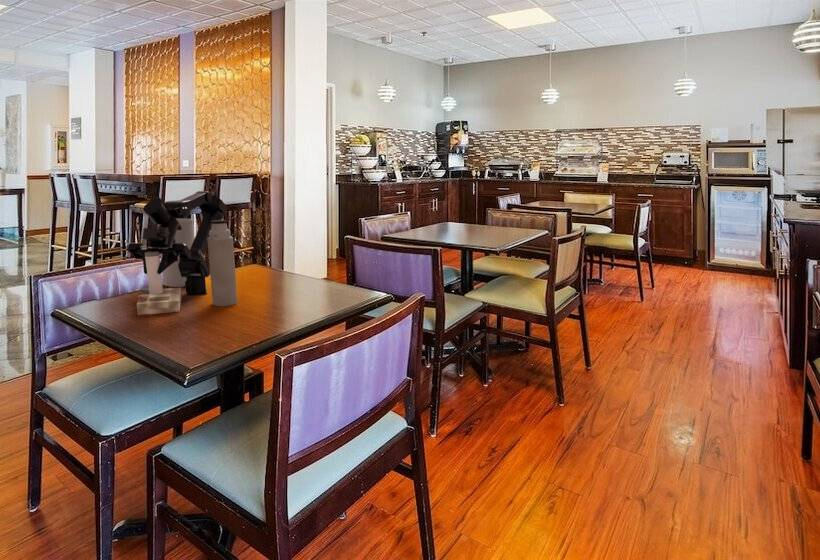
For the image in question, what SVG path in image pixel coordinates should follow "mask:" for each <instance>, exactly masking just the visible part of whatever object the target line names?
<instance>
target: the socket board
mask: <svg viewBox="0 0 820 560" xmlns="http://www.w3.org/2000/svg"><path fill="white" fill-rule="evenodd" d="M182 297H183V296H182V287H168V288H163V293H160V294H150V293H149V287H145V288H141V294H139V295H138V296H137V299H138V301H137V303H136V311H137V316H142V315H144V316H145V315H153V314H154V315H155V314H164V313H165V314H167V313H178V312H180V311H181V305H182V299H183V298H182Z"/></svg>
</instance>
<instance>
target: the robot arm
mask: <svg viewBox="0 0 820 560" xmlns="http://www.w3.org/2000/svg"><path fill="white" fill-rule="evenodd" d="M196 208H198V209H199V210H200V213H201V217H202V219H201V222H200V224H199V227H198V229H197V231H196V234H195V235H194V238H195V239H194V241H193V244H192V246H191V248H190V250H189V248H188V247H187V246H186V244H185V243H175V242H176V240H175V239H174V238H175V235H176V232H177V230H182V228H181V225H180V224H179V222H178V221H177V220H176V219H187V218H188V217H189V215H191V211H193V210H195V209H196ZM227 211H228V208H227V204H225V202H224V201H223V200H222V199H221V198H219V197H218V196H216V195H213V193H211V192H210V191H208V190H201V191H200V190H198V191H196V192H195V193H193V194H191V195H189V196H186V197H184V198H182V199H178V200H168V201H167V200H166V201H165V202H164V201H163V200H162V198H160V197H153V200H150V201H148V202H147V203H146V204H145V205H144V207H143V212H144V213H145V214H146V215H147V216H148V218H149V219H150V220H151V221H152V222H153V224H155V225H157V228H156V227H155V228H152V227H151V228H148V227H144V228H143V230H142V231H143V233H142V239H143V240H146V241H147V244H148V245H149V246H148V245H144V244H143V243H142V242H130V243H128V245H127V248H126V250H127V251H128V253H130V254H129V255H131V256H132V257H133V259H136V260H142V265H143V267H142V268H143V273H144V274H145V275H147V268H146V260H145V252H150V251H158V252H159V255H161V254H162V259H161V258H160V265H159V267H158V271H157V273H158V274H161V275H162V274H163V273H162V272H163V271H164V270H165V269H166V268H168V267H169V266H170V265H171V264H173V263H174V262H176V261H178V255H179V257H180V258H179V260H180V261H179V263H178V268H179V271H180V274H181V277H186V279H187V280H185V287H184V288H185V293H187V294H186V295H187V296H193V295H194V296H195V295H206V294H207V293H208V290H207V285H206V283H207V281H206V278H209V276H210V267H209V265H207V264H206V262H207V261H206V258H205V257H206V256H205V253H206V251H207V249H208V240H207V238H208V237H209V231H210V230H211V229H212V227H211V225H212V223H211V221H214V220H223V218H224V217H225V215H226V212H227ZM158 224H159V226H158ZM172 243H174V244H172ZM171 246H172V248H171Z"/></svg>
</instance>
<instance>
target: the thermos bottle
mask: <svg viewBox="0 0 820 560" xmlns="http://www.w3.org/2000/svg"><path fill="white" fill-rule="evenodd" d="M211 223H212V225H211V227H212V229H211V230H210V231H209V237H208V238H207V240H208V245H207V249H208V250H207V251H208V262H209V265H208V266H209V269H210V275H209V276H210V286H211V301H212V305H213V306H216V307H228V306H233V305H235V304H237V303H238V292H237V278H236V277H237V276H236V264H235V248H234V237H233V236H232V235H231V230H230V229H229V228H228V225H227V223H228V221H227V220H225V219H221V220H214V221H211Z"/></svg>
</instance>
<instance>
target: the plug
mask: <svg viewBox="0 0 820 560" xmlns="http://www.w3.org/2000/svg"><path fill="white" fill-rule="evenodd" d="M145 260H146V268H147V274H146V277H147V284H148V285H147V286H148V288H149V293H150V294H160V293H163V289H164V288H163V286H164V284H163V275H162V273H161V274H158V273H157V271H158V267H159V265H160V262H161V257H160V254H159V252H158V251H150V252H145Z"/></svg>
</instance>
